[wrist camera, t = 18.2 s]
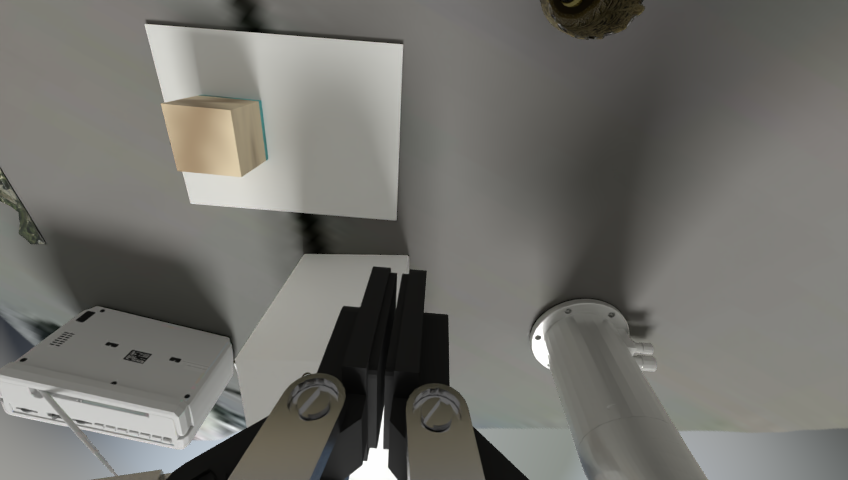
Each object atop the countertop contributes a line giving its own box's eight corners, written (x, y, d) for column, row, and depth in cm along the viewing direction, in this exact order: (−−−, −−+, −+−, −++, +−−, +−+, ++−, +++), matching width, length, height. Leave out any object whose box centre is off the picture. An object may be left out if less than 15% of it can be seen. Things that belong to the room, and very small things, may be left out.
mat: (403, 44, 34) (402, 44, 34) (396, 219, 42) (396, 220, 42) (146, 24, 34) (144, 23, 34) (192, 202, 43) (190, 203, 42)
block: (160, 103, 31) (201, 94, 36) (177, 171, 34) (213, 153, 39) (230, 110, 31) (261, 100, 36) (241, 177, 34) (268, 159, 39)
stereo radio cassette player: (96, 338, 54) (-70, 480, 37) (87, 296, 50) (-103, 432, 33) (237, 371, 56) (144, 520, 39) (240, 333, 52) (137, 480, 35)
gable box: (414, 379, 55) (390, 650, 31) (327, 376, 56) (236, 640, 31) (409, 252, 45) (366, 511, 20) (302, 251, 45) (135, 500, 21)
